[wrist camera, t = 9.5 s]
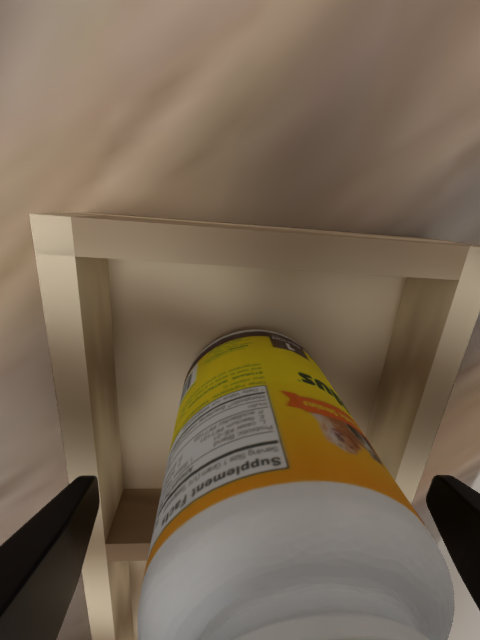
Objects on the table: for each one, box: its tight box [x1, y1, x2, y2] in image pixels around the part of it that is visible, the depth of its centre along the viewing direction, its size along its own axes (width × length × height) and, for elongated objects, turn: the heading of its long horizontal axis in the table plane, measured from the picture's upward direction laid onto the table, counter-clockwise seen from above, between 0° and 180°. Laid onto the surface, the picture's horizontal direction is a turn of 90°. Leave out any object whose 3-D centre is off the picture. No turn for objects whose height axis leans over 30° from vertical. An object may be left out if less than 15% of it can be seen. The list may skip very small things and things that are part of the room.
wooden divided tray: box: [29, 213, 480, 640], centre depth 14 cm, size 25×13×4 cm, turn 176°
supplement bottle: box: [137, 330, 454, 640], centre depth 8 cm, size 6×6×10 cm
